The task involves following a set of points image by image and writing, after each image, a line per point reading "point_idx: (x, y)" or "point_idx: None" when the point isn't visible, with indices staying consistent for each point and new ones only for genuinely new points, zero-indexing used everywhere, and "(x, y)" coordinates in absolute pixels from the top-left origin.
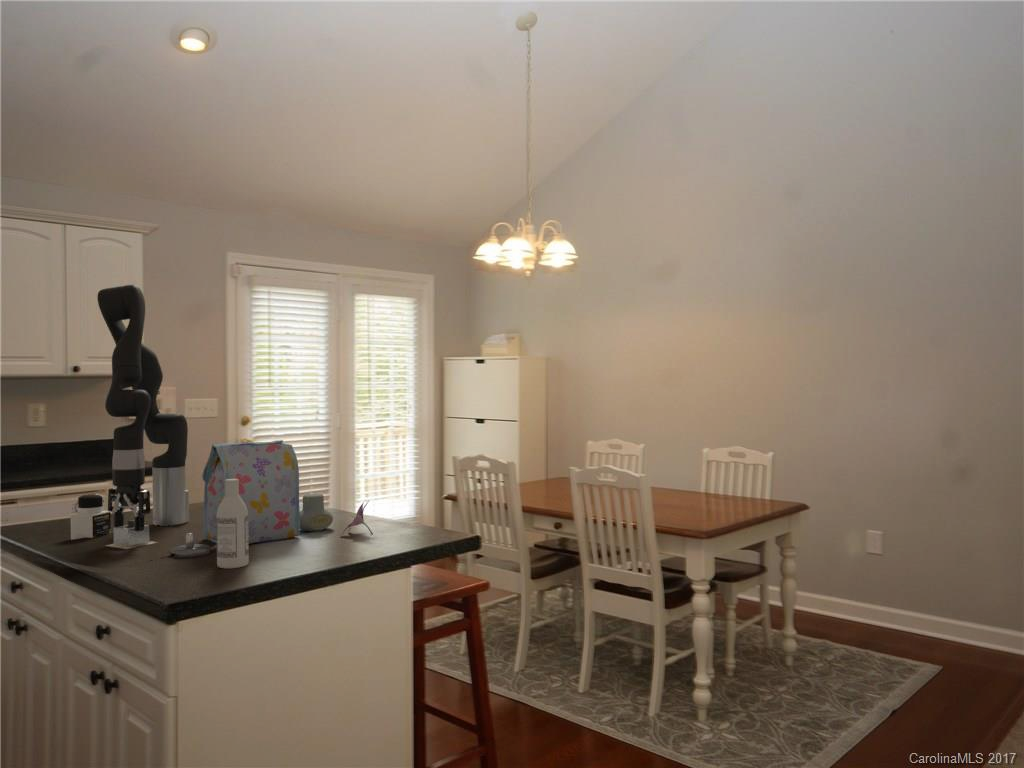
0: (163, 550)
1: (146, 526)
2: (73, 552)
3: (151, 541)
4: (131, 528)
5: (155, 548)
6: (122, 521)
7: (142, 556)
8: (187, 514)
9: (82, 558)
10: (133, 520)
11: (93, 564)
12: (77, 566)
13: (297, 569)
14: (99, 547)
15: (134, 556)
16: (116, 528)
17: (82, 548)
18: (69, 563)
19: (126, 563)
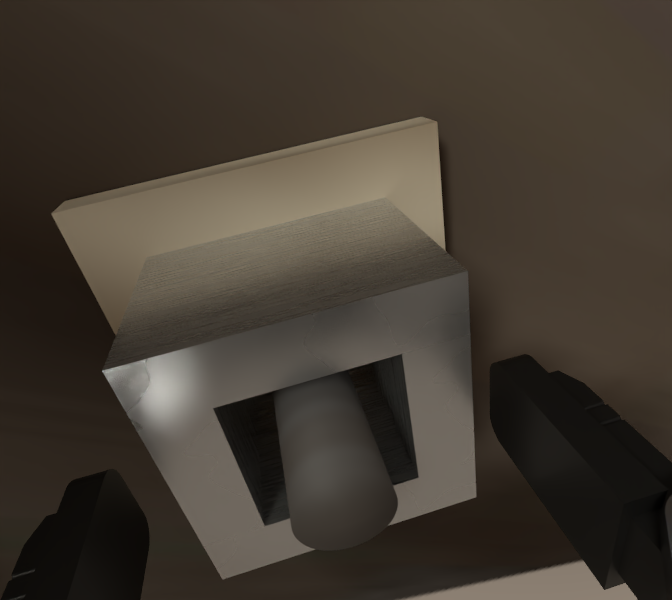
0: (609, 170)
1: (464, 306)
2: (145, 581)
3: (334, 151)
4: (457, 468)
5: (484, 180)
6: (94, 551)
7: (621, 342)
8: None
9: (369, 556)
10: (348, 492)
11: (542, 532)
12: (514, 573)
13: None
14: (67, 466)
15: (576, 373)
16: (276, 555)
17: (22, 544)
18: (428, 593)
19: (668, 437)
